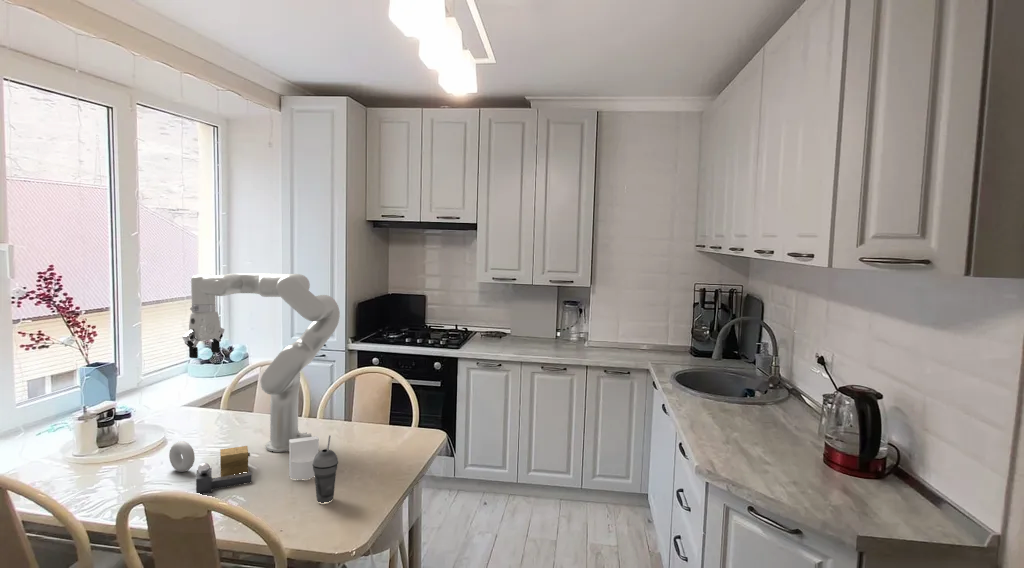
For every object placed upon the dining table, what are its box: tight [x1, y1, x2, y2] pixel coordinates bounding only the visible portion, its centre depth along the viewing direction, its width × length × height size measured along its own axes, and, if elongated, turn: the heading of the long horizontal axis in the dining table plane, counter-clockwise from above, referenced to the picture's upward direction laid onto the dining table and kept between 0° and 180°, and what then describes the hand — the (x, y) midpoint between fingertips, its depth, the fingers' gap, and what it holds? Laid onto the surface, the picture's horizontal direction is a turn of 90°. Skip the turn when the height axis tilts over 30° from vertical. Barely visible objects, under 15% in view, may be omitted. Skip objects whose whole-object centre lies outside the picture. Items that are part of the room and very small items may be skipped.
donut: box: [168, 440, 196, 473], centre depth 174 cm, size 10×4×10 cm, turn 66°
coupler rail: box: [195, 462, 253, 495], centre depth 165 cm, size 15×7×8 cm, turn 119°
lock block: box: [219, 445, 251, 477], centre depth 175 cm, size 9×6×7 cm
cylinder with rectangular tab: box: [288, 435, 320, 481], centre depth 174 cm, size 9×9×12 cm
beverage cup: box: [312, 434, 339, 503], centre depth 157 cm, size 7×7×20 cm
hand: (204, 355), depth 194 cm, fingers open, 9 cm apart
